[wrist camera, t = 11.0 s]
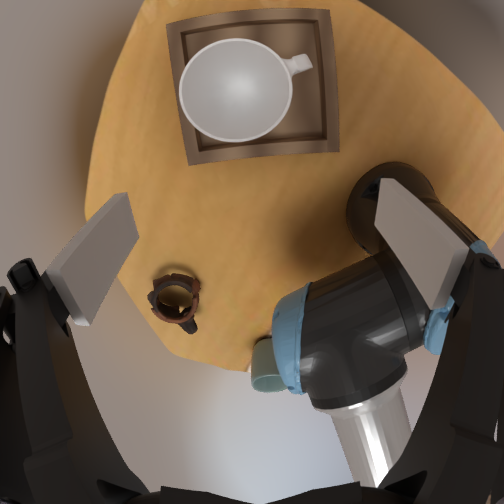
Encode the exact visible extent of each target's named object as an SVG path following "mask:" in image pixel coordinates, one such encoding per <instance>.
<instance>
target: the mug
mask: <svg viewBox="0 0 504 504" xmlns="http://www.w3.org/2000/svg"><path fill="white" fill-rule="evenodd" d="M311 68H313V66H312V63H311V61H310V59H309V58H308V56H307V55H306V54H301V55H297V56H294V57H292V59H283V58H280V57H279V55H278V54H276V53H275V52H274V51H273V50H272V49H270V48H269V47H267V46H265V45H263V44H261V43H259V42H256V41H253V40H249V39H241V38H232V39H225V40H220V41H217V42H214V43H212V44H210V45H208V46H206V47H204V48H203V49H201V50H200V51H199V52H198V53H196V54H195V55H194V56H193V57H192V59H191V60H190V61H189V62H188V64H187V65H186V67H185V69H184V71H183V73H182V76H181V79H180V84H179V98H180V103H181V107H182V109H183V112H184V114H185V115H186V117H187V119H188V120H189V121H190V122H191V124H192V125H193V126H194V127H195V128H196V129H198V130H199V131H200V132H202V133H203V134H205V135H207V136H209V137H211V138H214V139H216V140H220V141H225V142H244V141H250V140H253V139H256V138H259V137H261V136H263V135H265V134H267V133H268V132H270V131H271V130H272V129H274V128H275V127H276V126H277V125H278V124H279V123H280V122H281V120H282V119H283V118H284V116H285V115H286V113H287V111H288V109H289V106H290V103H291V99H292V90H293V89H292V80H291V79H292V76H293V75H295V74H297V73H300V72H303V71H305V70H308V69H311Z"/></svg>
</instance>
